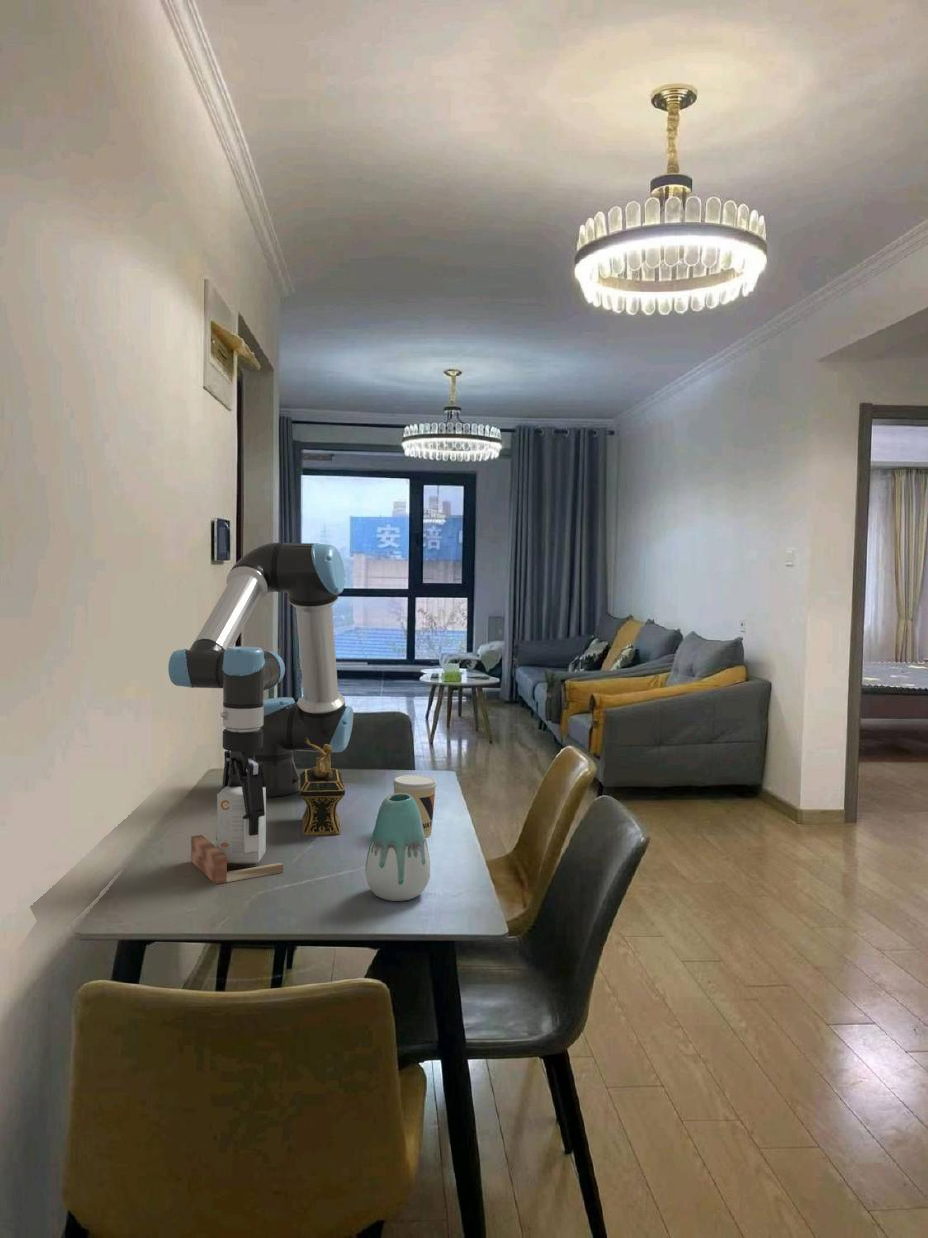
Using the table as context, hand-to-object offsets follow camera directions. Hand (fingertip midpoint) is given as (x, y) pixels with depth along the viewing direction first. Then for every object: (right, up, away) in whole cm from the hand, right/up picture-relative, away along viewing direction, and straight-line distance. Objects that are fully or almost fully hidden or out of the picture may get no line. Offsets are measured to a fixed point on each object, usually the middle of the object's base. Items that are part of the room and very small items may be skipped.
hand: (241, 843), depth 178 cm
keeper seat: (0, -4, 0) cm, 4 cm away
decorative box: (+11, -3, +26) cm, 28 cm away
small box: (0, -3, 0) cm, 3 cm away
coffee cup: (+32, -4, +24) cm, 40 cm away
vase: (+31, -6, -13) cm, 34 cm away
